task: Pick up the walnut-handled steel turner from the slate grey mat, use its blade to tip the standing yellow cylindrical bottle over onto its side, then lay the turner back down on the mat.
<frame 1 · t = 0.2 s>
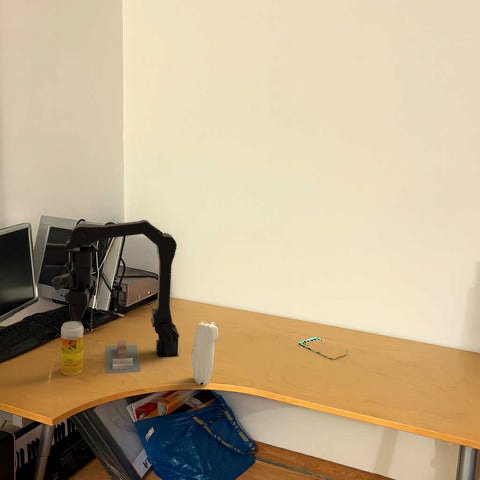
hand: (82, 315, 153), 14 cm above the table, tool pointing down, fingers open, 9 cm apart
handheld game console: (323, 350, 176), on the table
tool mat: (122, 359, 156), on the table
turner: (122, 356, 158), point 1 cm above the table, touching tool mat
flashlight: (202, 382, 146), on the table
yellow cylindrical bottle: (72, 373, 145), on the table
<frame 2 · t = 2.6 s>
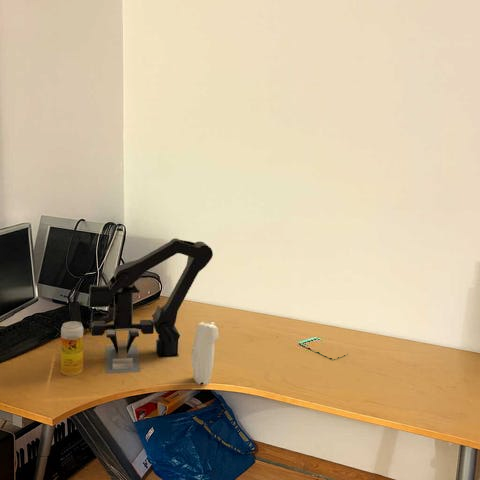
hand: (122, 353, 158), 2 cm above the table, tool pointing down, fingers closed on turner, 3 cm apart
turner: (122, 356, 158), point 1 cm above the table, touching gripper, tool mat
everything else where it was.
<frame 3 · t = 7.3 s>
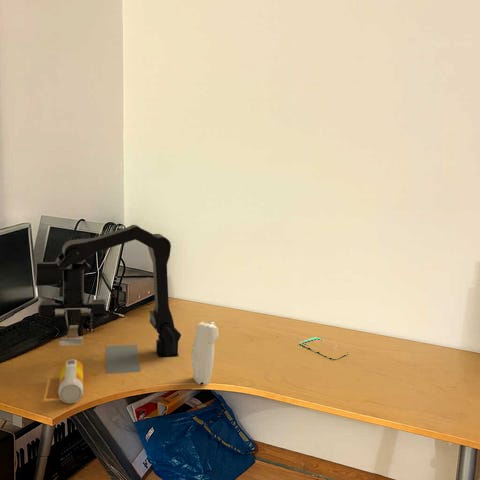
hand: (73, 334, 148), 10 cm above the table, tool pointing down, fingers closed on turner, 3 cm apart
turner: (73, 337, 148), point 9 cm above the table, tilted 9°, touching gripper
yellow cylindrical bottle: (71, 367, 142), point 3 cm above the table
everything else where it was.
when the fingers open (3 cm above the table, at t = 11.6 s): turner drops 2 cm, resting on tool mat.
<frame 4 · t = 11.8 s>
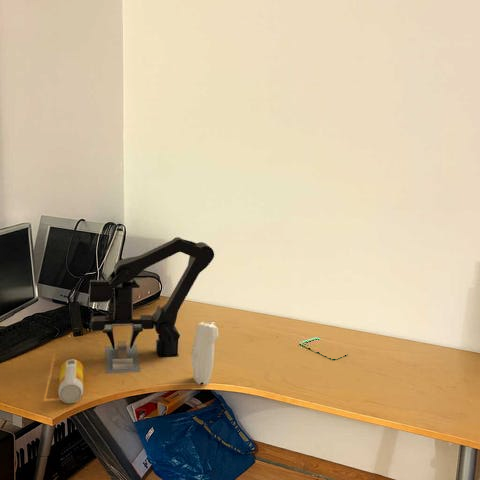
hand: (122, 348, 157), 3 cm above the table, tool pointing down, fingers open, 5 cm apart
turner: (122, 356, 157), point 1 cm above the table, touching tool mat
everything else where it was.
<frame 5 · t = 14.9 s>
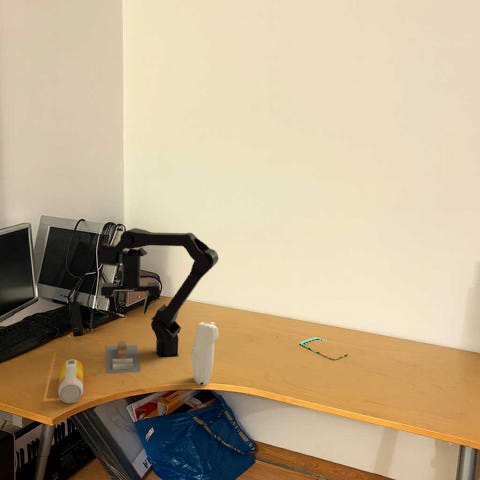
hand: (130, 314, 163), 12 cm above the table, tool pointing down, fingers open, 9 cm apart
nothing on the table moved.
at the end: yellow cylindrical bottle tilted 90°; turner inside the target area on the tool mat (0.8 cm from its centre), point 0.6 cm above the tool mat's base; the gripper is holding nothing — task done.
